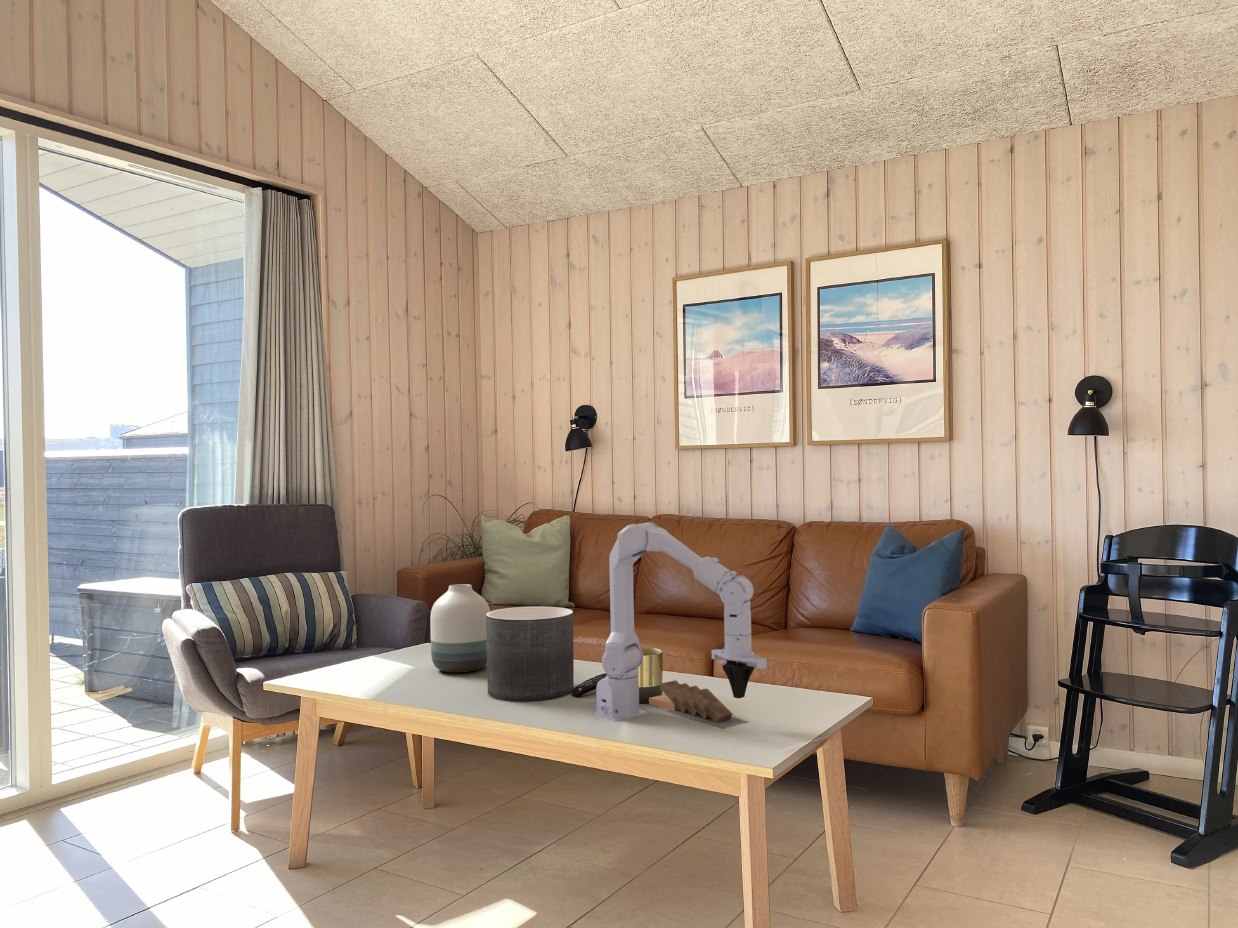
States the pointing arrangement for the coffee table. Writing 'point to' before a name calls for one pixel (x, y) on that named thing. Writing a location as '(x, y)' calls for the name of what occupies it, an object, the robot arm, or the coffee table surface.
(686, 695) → the walnut tile
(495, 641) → the planter
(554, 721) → the coffee table surface
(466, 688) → the coffee table surface
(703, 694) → the walnut tile
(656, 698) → the terracotta tile
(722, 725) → the grey flat rectangular plate
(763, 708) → the coffee table surface
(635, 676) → the robot arm
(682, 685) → the walnut tile
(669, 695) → the walnut tile
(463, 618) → the vase
